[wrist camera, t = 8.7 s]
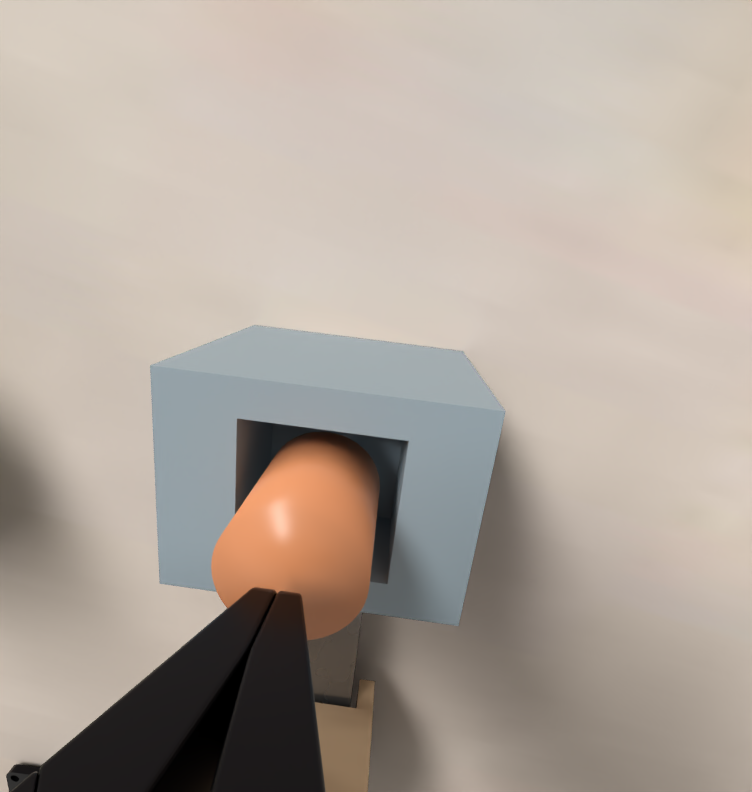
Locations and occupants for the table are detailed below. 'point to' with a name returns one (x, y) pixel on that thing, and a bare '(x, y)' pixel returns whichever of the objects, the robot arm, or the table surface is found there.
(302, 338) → the blue grey open box
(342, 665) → the rail
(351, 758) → the block
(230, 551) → the brown egg
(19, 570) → the table surface
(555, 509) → the table surface
